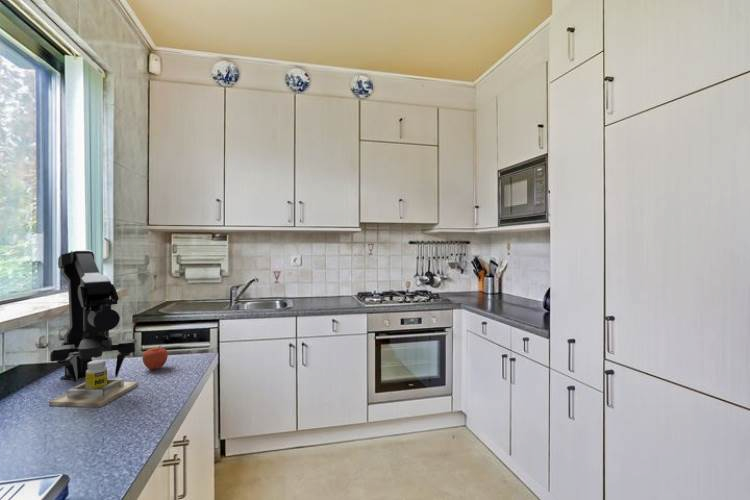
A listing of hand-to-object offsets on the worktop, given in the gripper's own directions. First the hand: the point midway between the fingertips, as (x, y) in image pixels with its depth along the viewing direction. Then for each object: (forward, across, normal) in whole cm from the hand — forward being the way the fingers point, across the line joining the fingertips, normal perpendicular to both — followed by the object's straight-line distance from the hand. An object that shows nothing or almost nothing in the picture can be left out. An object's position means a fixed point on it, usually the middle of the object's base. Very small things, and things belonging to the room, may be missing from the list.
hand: (96, 379), depth 101 cm
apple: (+5, +13, +17) cm, 22 cm away
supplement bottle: (+4, 0, 0) cm, 4 cm away
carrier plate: (+4, 0, 0) cm, 4 cm away
